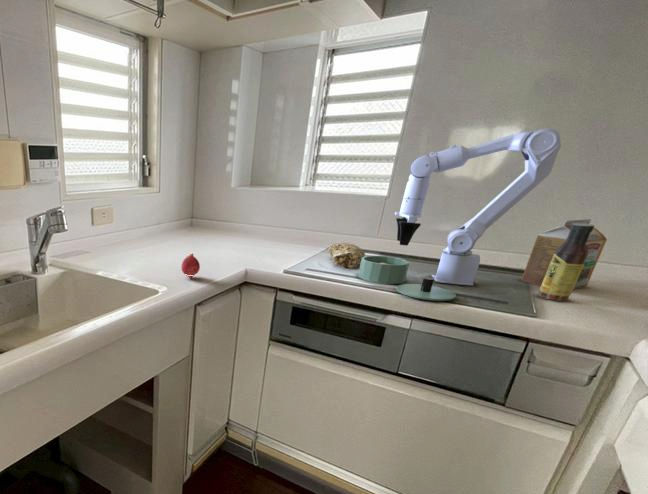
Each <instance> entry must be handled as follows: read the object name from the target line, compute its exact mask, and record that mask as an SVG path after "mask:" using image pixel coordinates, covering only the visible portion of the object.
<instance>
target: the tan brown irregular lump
mask: <svg viewBox="0 0 648 494" xmlns="http://www.w3.org/2000/svg"><path fill="white" fill-rule="evenodd" d="M327 252H328V254H329V255H330V256H331V258H332V259H331V260H332V262H333V263H334V264H335V265H336V266H339V267H347V268H349V269H353V268H356V267H358V266H360V264H361V259H362V257H364V256H366V252H365V251H364V250H363V248H361V247H360V246H358V245H356V244H352V243H349V242H343V243H332V244H331V245H329V246H328V251H327Z"/></svg>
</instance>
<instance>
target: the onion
mask: <svg viewBox="0 0 648 494" xmlns="http://www.w3.org/2000/svg"><path fill="white" fill-rule="evenodd" d="M200 265H201V264H200V261H199V260H198V259H197V258H196V257H195V256H194V253H193V252H191V253H190V254H189V255H188V256H186V257H185V258H184V259H183V260H182V263H181V271H182V273H183V274H184V275H185V274H187V275H194V276H196V275H197V274H198V273H199V272H200V270H201V269H200V268H201V266H200ZM195 274H196V275H195ZM187 275H185V276H187ZM194 276H187V278H189V279H192V278H193V277H194Z"/></svg>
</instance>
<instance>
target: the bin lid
mask: <svg viewBox="0 0 648 494" xmlns="http://www.w3.org/2000/svg"><path fill="white" fill-rule="evenodd" d="M434 282H435V280H434V279H433V277H427V276H426V277H423V278H422V281H421V284H420V283H404V284H403V283H401V284H398V285H397V286H396V288H395V289H396V291H397V292H398V293H399V294H402V295H404V296H406V297H411V298H414V299H418V300H424V301H425V300H426V301H432V302H433V301H434V302H435V301H439V302H442V301H443V302H445V301H452V300H455V299H456V297H457V293H455V292H453V291H451V290H449V289H446V288H443V287H439V286H435V285H433V284H434Z"/></svg>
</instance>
